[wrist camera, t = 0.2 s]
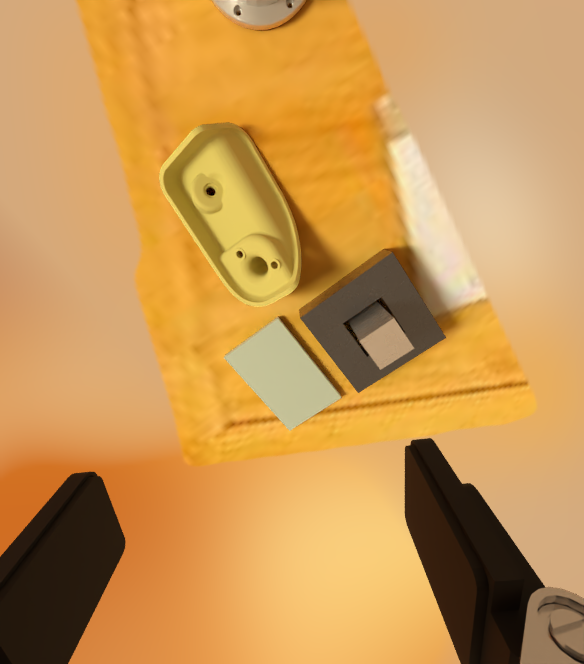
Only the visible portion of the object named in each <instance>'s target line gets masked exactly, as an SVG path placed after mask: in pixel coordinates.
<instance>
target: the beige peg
mask: <svg viewBox="0 0 584 664" xmlns="http://www.w3.org/2000/svg"><path fill="white" fill-rule="evenodd" d="M348 322H349V324H350V325H351V327H352V329H353V331H354V333H355V334H356V336H357V338H358V340H359V341H360V343H361V344H362V345H363V347H364V348H365V350H366V351H367V352H368V354H369V355H370V356H371V358H372V359H373V361H374V362H375V363H376V365H377V366H378V367H379V369H380V370H381V369H383V368H384V367H386V366H387V365H389V364H391V363H392V362H394V361H395V360H397V359H398V358H400V357H402V356H403V355H405V354H406V353H408V352H409V351H411V350H413V349H414V347H413V346H412V344H411V343H410V341H409V340H408V338H407V337H406V335H405V334H404V332H403V331H402V329H401V328H400V326H399V325H398V323H397V322H396V320H395V319H394V318H393V317H392V316H391V315H390V314H389V313H388V312H387V311H386V310H385V309H384V308H383V307H382V306H381V305H380V304H379V303H378V302H377V301H375V302H373V303H372V304H371V305H369V306H368V307H366V308H365V309H363V310H362V311H360V312H359V313H358V314H356V315H355V316H353V317H352V318H350V319H349V320H348Z"/></svg>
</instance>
